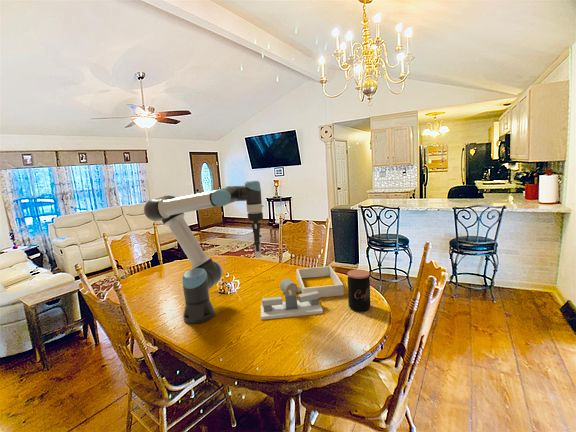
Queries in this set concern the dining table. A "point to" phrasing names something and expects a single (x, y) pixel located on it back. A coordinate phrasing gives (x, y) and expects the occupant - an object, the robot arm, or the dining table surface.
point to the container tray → (322, 290)
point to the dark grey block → (291, 300)
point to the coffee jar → (359, 290)
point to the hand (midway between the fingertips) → (258, 253)
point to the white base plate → (277, 309)
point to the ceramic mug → (288, 286)
